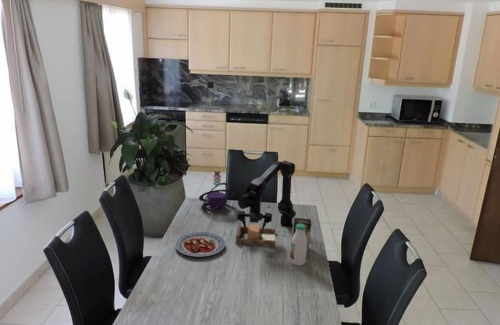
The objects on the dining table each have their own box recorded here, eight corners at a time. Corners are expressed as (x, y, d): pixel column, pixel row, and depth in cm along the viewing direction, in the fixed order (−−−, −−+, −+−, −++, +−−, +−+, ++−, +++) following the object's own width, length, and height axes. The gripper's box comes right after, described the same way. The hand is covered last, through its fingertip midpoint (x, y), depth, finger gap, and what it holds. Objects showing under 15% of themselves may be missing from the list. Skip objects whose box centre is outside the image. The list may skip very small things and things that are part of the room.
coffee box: (290, 250, 200) (293, 222, 195) (290, 244, 206) (293, 217, 201) (308, 251, 199) (311, 223, 195) (308, 246, 205) (310, 218, 201)
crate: (259, 234, 215) (259, 225, 213) (258, 241, 207) (259, 231, 206) (248, 234, 215) (248, 224, 214) (247, 240, 208) (247, 230, 206)
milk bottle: (306, 259, 192) (310, 223, 186) (303, 267, 185) (307, 230, 179) (291, 256, 194) (294, 220, 188) (287, 264, 187) (291, 226, 181)
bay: (274, 232, 218) (275, 225, 217) (275, 246, 203) (275, 238, 202) (238, 229, 219) (238, 222, 218) (235, 243, 204) (236, 235, 203)
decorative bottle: (229, 200, 261) (231, 165, 254) (237, 212, 242) (238, 175, 235) (197, 202, 255) (197, 166, 248) (201, 215, 236) (202, 176, 229)
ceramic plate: (180, 263, 183) (180, 258, 182) (171, 238, 206) (171, 233, 205) (231, 255, 192) (231, 250, 191) (217, 232, 215) (217, 227, 214)
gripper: (236, 209, 198) (235, 236, 203) (272, 211, 198) (270, 238, 202) (238, 200, 209) (237, 226, 213) (272, 203, 208) (270, 229, 213)
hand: (253, 230), depth 210 cm, fingers open, 9 cm apart
